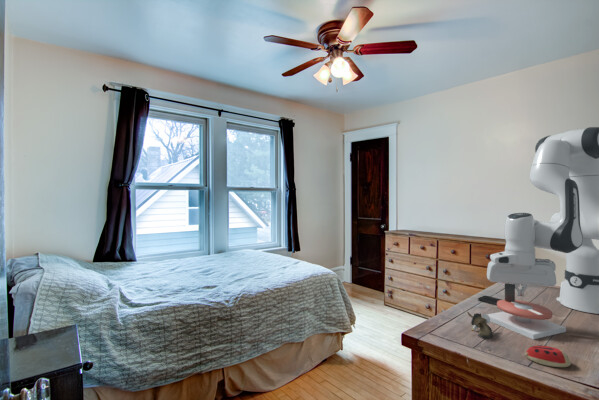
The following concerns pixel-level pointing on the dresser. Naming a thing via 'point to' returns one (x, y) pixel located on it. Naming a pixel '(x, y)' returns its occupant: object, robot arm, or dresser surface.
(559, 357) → the ladybug figurine
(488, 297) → the phone
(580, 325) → the dresser surface
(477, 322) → the eagle figurine
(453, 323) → the dresser surface
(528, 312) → the handwheel
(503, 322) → the square base plate
